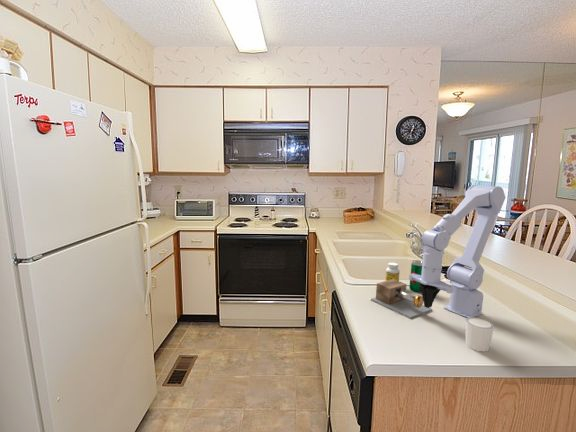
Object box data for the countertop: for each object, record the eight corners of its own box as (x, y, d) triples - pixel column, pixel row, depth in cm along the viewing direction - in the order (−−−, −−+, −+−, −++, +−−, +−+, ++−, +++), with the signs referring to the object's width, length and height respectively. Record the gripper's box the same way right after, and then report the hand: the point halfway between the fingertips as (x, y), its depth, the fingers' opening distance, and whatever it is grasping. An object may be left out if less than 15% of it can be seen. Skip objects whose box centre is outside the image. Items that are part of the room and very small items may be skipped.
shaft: (423, 306, 109) (424, 295, 109) (415, 308, 107) (416, 297, 106) (398, 296, 117) (399, 285, 117) (391, 298, 115) (392, 287, 115)
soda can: (423, 293, 127) (426, 263, 125) (410, 291, 128) (412, 262, 126) (421, 288, 132) (423, 260, 130) (408, 287, 133) (410, 259, 131)
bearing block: (405, 299, 118) (406, 284, 117) (388, 304, 113) (389, 288, 112) (392, 294, 123) (393, 279, 122) (375, 298, 118) (376, 283, 117)
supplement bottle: (399, 285, 134) (401, 263, 133) (396, 289, 130) (398, 266, 129) (387, 282, 137) (388, 261, 136) (383, 286, 133) (384, 264, 131)
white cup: (457, 339, 92) (460, 316, 91) (480, 339, 93) (482, 316, 91) (473, 353, 85) (476, 328, 84) (497, 352, 86) (500, 328, 85)
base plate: (432, 310, 111) (432, 309, 111) (410, 318, 104) (410, 316, 104) (392, 294, 125) (392, 292, 125) (370, 300, 118) (371, 298, 118)
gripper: (404, 262, 107) (401, 301, 109) (446, 275, 95) (441, 318, 97) (417, 260, 111) (414, 297, 113) (459, 271, 99) (454, 313, 101)
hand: (427, 306), depth 105 cm, fingers closed
